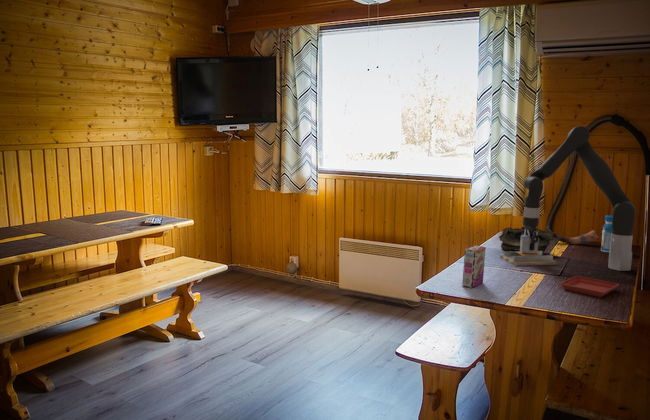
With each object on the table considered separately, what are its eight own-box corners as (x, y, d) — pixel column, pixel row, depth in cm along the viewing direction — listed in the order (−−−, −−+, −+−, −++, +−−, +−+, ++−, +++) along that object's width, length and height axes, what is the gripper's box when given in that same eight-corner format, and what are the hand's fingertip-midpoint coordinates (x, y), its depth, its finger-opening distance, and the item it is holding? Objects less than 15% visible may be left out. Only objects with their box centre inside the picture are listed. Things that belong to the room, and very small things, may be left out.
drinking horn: (598, 246, 323) (600, 229, 321) (545, 243, 328) (547, 226, 327) (596, 244, 328) (598, 227, 326) (544, 241, 334) (545, 225, 332)
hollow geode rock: (551, 263, 301) (554, 240, 309) (552, 250, 291) (555, 227, 299) (497, 255, 313) (502, 233, 320) (496, 243, 303) (501, 220, 311)
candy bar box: (472, 288, 235) (475, 251, 233) (461, 286, 238) (464, 249, 236) (483, 283, 244) (486, 246, 241) (473, 281, 247) (475, 244, 244)
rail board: (556, 264, 278) (556, 261, 278) (515, 265, 275) (515, 262, 275) (539, 257, 294) (539, 254, 294) (500, 257, 290) (500, 255, 290)
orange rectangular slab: (540, 255, 281) (540, 254, 281) (523, 256, 280) (523, 255, 280) (532, 252, 288) (532, 251, 288) (516, 252, 286) (516, 251, 286)
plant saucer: (558, 290, 237) (559, 282, 236) (575, 282, 249) (576, 275, 249) (603, 300, 224) (604, 292, 224) (619, 291, 237) (619, 283, 236)
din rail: (552, 260, 281) (553, 255, 280) (513, 261, 277) (514, 256, 277) (541, 255, 291) (541, 250, 291) (503, 256, 288) (504, 251, 287)
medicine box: (535, 251, 285) (536, 235, 284) (537, 253, 281) (539, 237, 280) (519, 251, 286) (520, 234, 285) (521, 253, 282) (522, 236, 280)
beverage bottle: (608, 253, 305) (611, 217, 302) (596, 249, 313) (600, 214, 310) (620, 252, 307) (624, 217, 304) (609, 249, 315) (612, 214, 312)
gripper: (545, 218, 274) (543, 252, 277) (530, 213, 288) (528, 245, 291) (531, 218, 273) (529, 252, 276) (517, 213, 287) (515, 246, 290)
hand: (528, 248), depth 283 cm, fingers closed on medicine box, 5 cm apart
